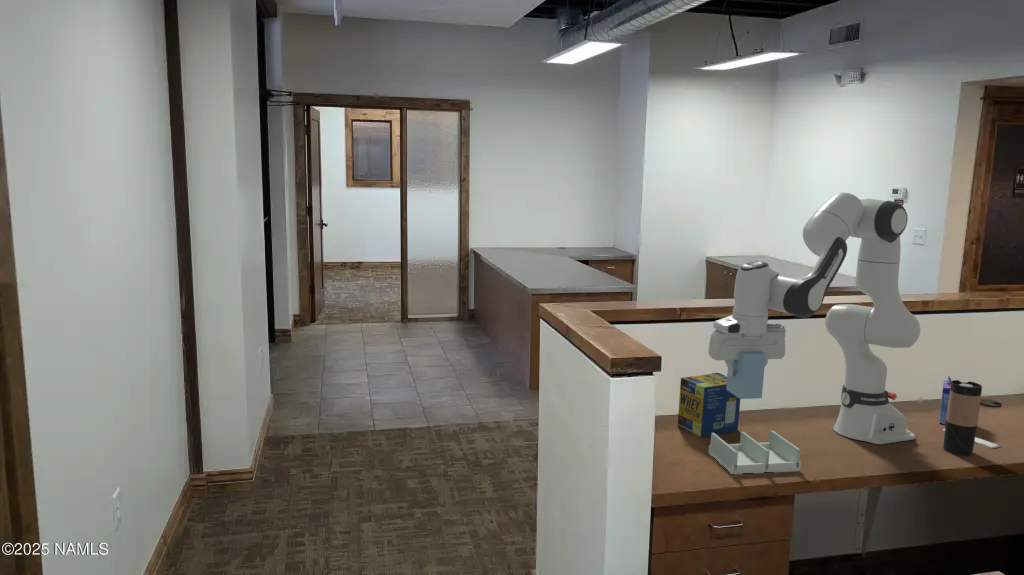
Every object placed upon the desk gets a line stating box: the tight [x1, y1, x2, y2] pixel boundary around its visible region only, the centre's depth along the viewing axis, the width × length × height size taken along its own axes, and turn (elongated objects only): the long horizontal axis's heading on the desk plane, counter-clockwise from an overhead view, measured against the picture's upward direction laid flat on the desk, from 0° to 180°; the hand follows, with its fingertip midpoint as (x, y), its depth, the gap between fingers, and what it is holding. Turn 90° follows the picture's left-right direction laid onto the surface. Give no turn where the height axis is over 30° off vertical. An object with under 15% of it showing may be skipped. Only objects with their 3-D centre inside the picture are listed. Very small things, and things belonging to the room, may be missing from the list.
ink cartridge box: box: [939, 375, 953, 425], centre depth 230 cm, size 10×6×14 cm, turn 148°
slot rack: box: [708, 430, 802, 475], centre depth 194 cm, size 19×14×6 cm
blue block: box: [726, 351, 766, 400], centre depth 189 cm, size 6×8×12 cm
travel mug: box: [943, 379, 983, 457], centre depth 205 cm, size 8×8×20 cm
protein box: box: [677, 372, 741, 438], centre depth 218 cm, size 10×15×16 cm
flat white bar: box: [942, 428, 1001, 450], centre depth 217 cm, size 5×15×1 cm, turn 24°
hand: (745, 375), depth 190 cm, fingers closed on blue block, 6 cm apart
